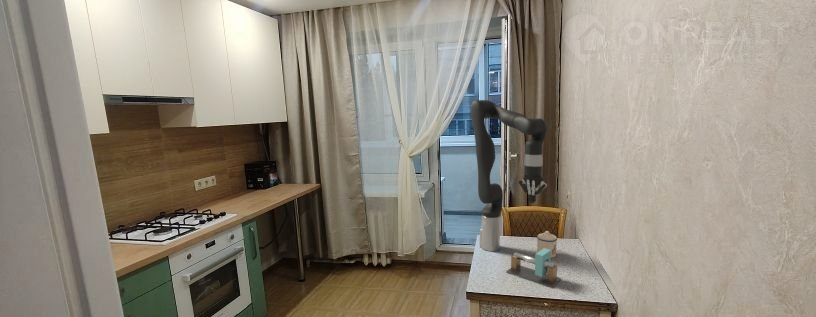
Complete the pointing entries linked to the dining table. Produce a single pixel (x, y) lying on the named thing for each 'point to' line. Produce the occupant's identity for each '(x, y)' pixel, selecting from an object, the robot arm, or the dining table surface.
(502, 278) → the dining table surface
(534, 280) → the pipe rig
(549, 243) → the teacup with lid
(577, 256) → the dining table surface
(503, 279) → the dining table surface
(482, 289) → the dining table surface
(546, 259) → the collar
